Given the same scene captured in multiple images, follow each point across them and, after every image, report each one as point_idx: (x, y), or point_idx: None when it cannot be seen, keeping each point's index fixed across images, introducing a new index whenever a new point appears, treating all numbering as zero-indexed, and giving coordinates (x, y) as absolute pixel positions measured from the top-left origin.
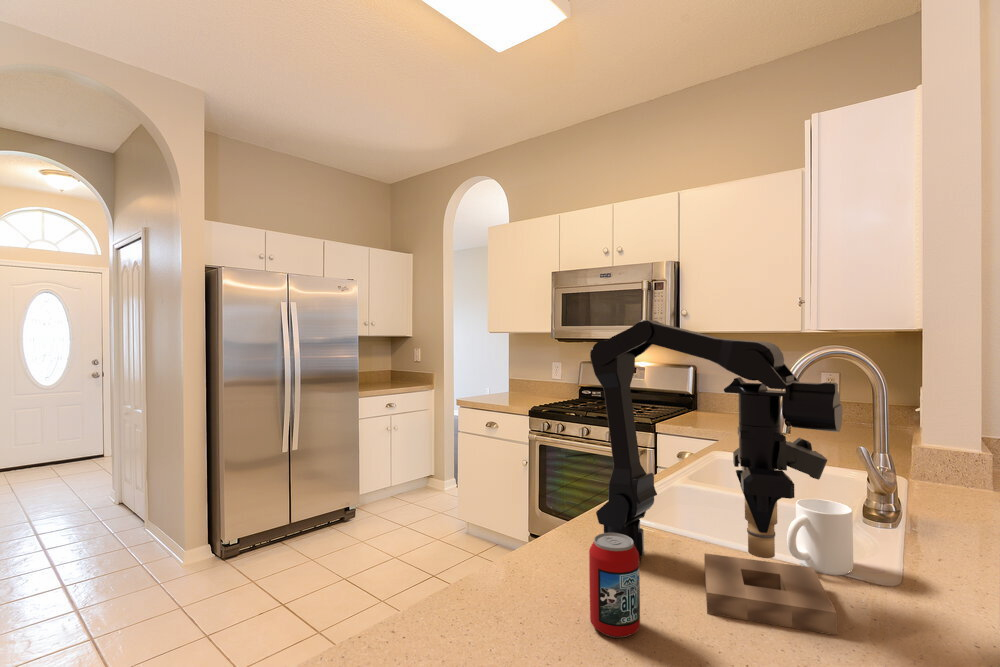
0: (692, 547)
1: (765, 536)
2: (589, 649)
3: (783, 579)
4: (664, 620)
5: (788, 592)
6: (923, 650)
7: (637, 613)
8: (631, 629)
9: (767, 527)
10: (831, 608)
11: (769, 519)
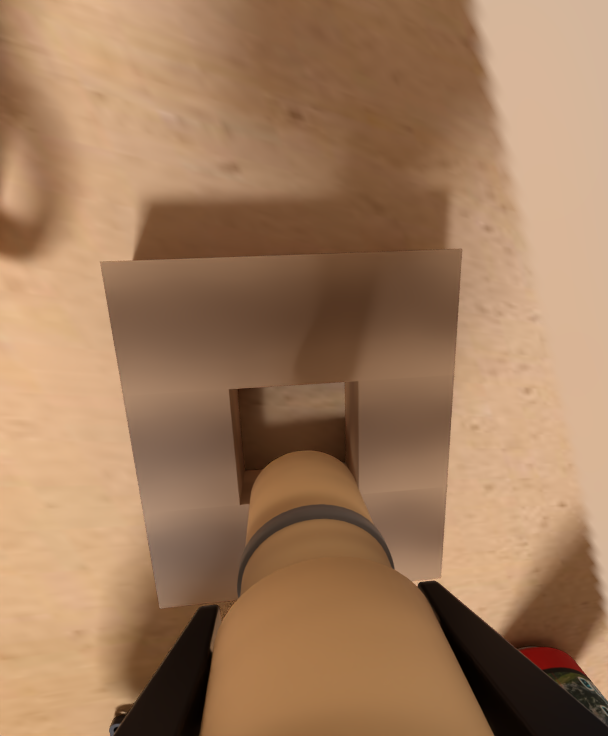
0: (4, 606)
1: (392, 559)
2: (598, 687)
3: (271, 381)
4: (472, 606)
5: (366, 375)
6: (439, 23)
7: (582, 686)
8: (574, 663)
9: (466, 611)
10: (439, 259)
11: (539, 673)
